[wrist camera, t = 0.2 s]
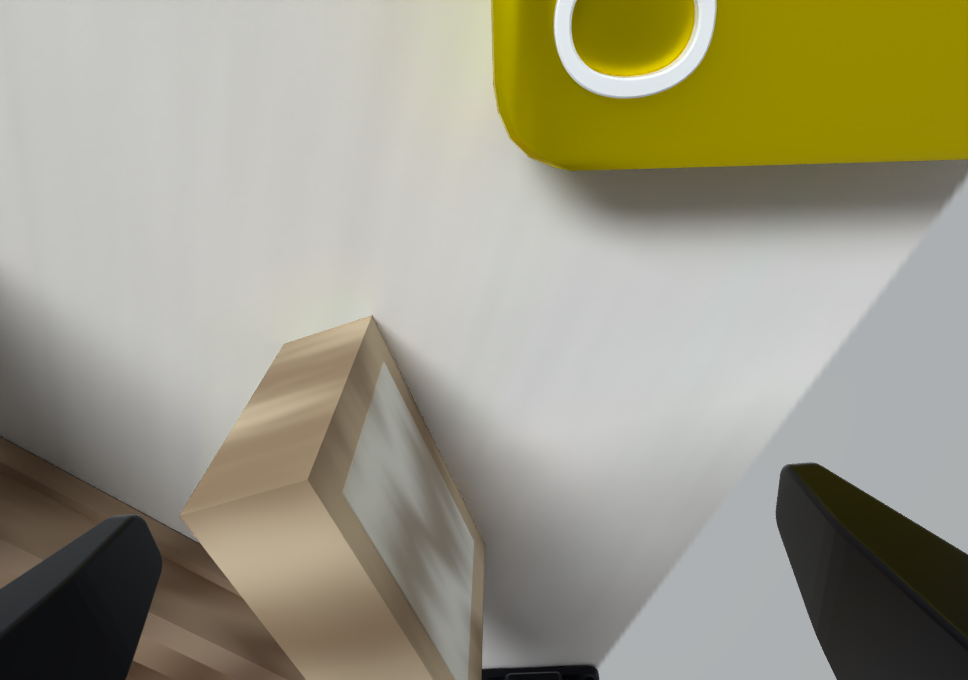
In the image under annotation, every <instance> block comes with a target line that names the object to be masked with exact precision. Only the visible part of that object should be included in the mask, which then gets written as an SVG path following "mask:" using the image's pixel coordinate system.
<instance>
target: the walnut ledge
mask: <svg viewBox="0 0 968 680" xmlns="http://www.w3.org/2000/svg"><path fill="white" fill-rule="evenodd" d="M130 514H137V515H140V516H142V517H143V518H144V519H145V521H146V522H147V524H148V526H149V529H150V531H151V533H152V535H153V537H154V539H155V541H156V543H157V545H158V547H159V550H160V552H161V554H162V559H163V567H162V573H161V576H160V579H159V582H158V585H157V588H156V591H155V595H154V598H153V601H152V604H151V607H150V610H149V613H148V616H147V619H146V622H145V625H144V628H143V631H142V634H141V637H140V641H139V644H138V647H137V650H136V653H135V656H134V659H133V662H132V664H131V667H130V670H129V673H128V675H127V678H126V680H306V679H305V678H304V677H303V675H302V674H301V673H300V671H299V670H298V669H297V667H296V666H295V665H294V664H293V662H292V661H291V660H290V658H289V657H288V656H287V655H286V653H285V652H284V651H283V649H282V648H281V647H280V646H279V644H278V643H277V642H276V640H275V639H274V638H273V637H272V635H271V634H270V633H269V631H268V630H267V629H266V627H265V626H264V625H263V624H262V622H261V621H260V620H259V618H258V617H257V616H256V615H255V613H254V612H253V611H252V609H251V608H250V607H249V606H248V604H247V603H246V602H245V600H244V599H243V598H242V596H241V595H240V594H239V593H238V591H237V590H236V589H235V587H234V586H233V585H232V584H231V582H230V581H229V580H228V578H227V577H226V576H225V575H224V573H223V572H222V571H221V569H220V568H219V567H218V566H217V564H216V563H215V562H214V560H213V559H212V558H211V556H210V555H209V554H208V553H207V551H206V550H205V549H204V547H203V546H202V545H200V544H199V543H197V542H195V541H193V540H191V539H189V538H187V537H185V536H184V535H182V534H180V533H178V532H176V531H174V530H172V529H171V528H169V527H167V526H165V525H163V524H161V523H159V522H158V521H156V520H154V519H152V518H150V517H148V516H146V515H145V514H143V513H141V512H139V511H137V510H135V509H133V508H131V507H130V506H128V505H126V504H124V503H122V502H120V501H118V500H117V499H115V498H113V497H111V496H109V495H107V494H105V493H104V492H102V491H100V490H98V489H96V488H94V487H92V486H91V485H89V484H87V483H85V482H83V481H81V480H79V479H78V478H76V477H74V476H72V475H70V474H68V473H66V472H64V471H63V470H61V469H59V468H57V467H55V466H53V465H51V464H50V463H48V462H46V461H44V460H42V459H40V458H38V457H37V456H35V455H33V454H31V453H29V452H27V451H25V450H24V449H22V448H20V447H18V446H16V445H14V444H12V443H10V442H9V441H7V440H5V439H3V438H1V437H0V589H1V588H2V587H4V586H5V585H7V584H8V583H10V582H11V581H13V580H14V579H16V578H18V577H19V576H21V575H22V574H24V573H25V572H27V571H28V570H30V569H31V568H33V567H34V566H36V565H37V564H39V563H40V562H42V561H43V560H45V559H46V558H48V557H49V556H51V555H52V554H54V553H55V552H57V551H58V550H60V549H61V548H63V547H64V546H66V545H67V544H69V543H70V542H72V541H73V540H75V539H76V538H78V537H79V536H81V535H82V534H84V533H85V532H87V531H89V530H90V529H92V528H93V527H95V526H96V525H98V524H99V523H101V522H102V521H104V520H105V519H107V518H109V517H111V516H117V515H130Z"/></svg>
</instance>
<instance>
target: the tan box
mask: <svg viewBox="0 0 968 680" xmlns="http://www.w3.org/2000/svg"><path fill="white" fill-rule="evenodd" d="M179 516H180V518H181V519H182V520H183V522H184V523H185V524H186V525H187V527H188V528H189V529H190V531H191V532H192V533H193V535H194V536H195V537H196V538H197V540H198V541H199V542H200V544H201V545H202V546H203V547H204V549H205V550H206V551H207V553H208V554H209V555H210V556H211V558H212V559H213V560H214V562H215V563H216V564H217V566H218V567H219V568H220V569H221V571H222V572H223V573H224V575H225V576H226V577H227V578H228V580H229V581H230V582H231V584H232V585H233V586H234V587H235V589H236V590H237V591H238V593H239V594H240V595H241V596H242V598H243V599H244V600H245V602H246V603H247V604H248V606H249V607H250V608H251V609H252V611H253V612H254V613H255V615H256V616H257V617H258V618H259V620H260V621H261V622H262V624H263V625H264V626H265V627H266V629H267V630H268V631H269V633H270V634H271V635H272V637H273V638H274V639H275V640H276V642H277V643H278V644H279V646H280V647H281V648H282V649H283V651H284V652H285V653H286V655H287V656H288V657H289V658H290V660H291V661H292V662H293V664H294V665H295V666H296V667H297V669H298V670H299V671H300V673H301V674H302V675H303V677H304V678H305V679H306V680H481V676H482V636H483V597H484V557H485V543H484V541H483V539H482V537H481V535H480V533H479V531H478V529H477V527H476V525H475V523H474V521H473V519H472V517H471V515H470V513H469V511H468V509H467V507H466V505H465V503H464V501H463V499H462V497H461V495H460V493H459V491H458V489H457V487H456V485H455V483H454V481H453V478H452V476H451V474H450V472H449V470H448V468H447V466H446V464H445V462H444V460H443V458H442V456H441V454H440V452H439V450H438V448H437V446H436V444H435V442H434V440H433V438H432V436H431V434H430V432H429V430H428V428H427V426H426V424H425V422H424V420H423V418H422V416H421V414H420V412H419V410H418V407H417V405H416V403H415V401H414V399H413V397H412V395H411V393H410V391H409V389H408V387H407V385H406V383H405V381H404V379H403V377H402V375H401V373H400V371H399V369H398V367H397V365H396V363H395V361H394V359H393V357H392V355H391V353H390V351H389V349H388V347H387V345H386V343H385V341H384V339H383V336H382V334H381V332H380V330H379V328H378V326H377V324H376V322H375V320H374V318H373V316H372V315H371V316H368V317H365V318H362V319H359V320H356V321H353V322H350V323H347V324H344V325H341V326H338V327H335V328H332V329H329V330H325V331H322V332H319V333H316V334H313V335H310V336H307V337H304V338H301V339H298V340H295V341H292V342H289V343H286V344H284V345H283V347H282V348H281V350H280V352H279V353H278V355H277V356H276V358H275V360H274V361H273V363H272V365H271V366H270V368H269V370H268V371H267V373H266V374H265V376H264V378H263V379H262V381H261V383H260V384H259V386H258V388H257V389H256V391H255V392H254V394H253V396H252V397H251V399H250V401H249V402H248V404H247V406H246V407H245V409H244V410H243V412H242V414H241V415H240V417H239V419H238V420H237V422H236V423H235V425H234V427H233V428H232V430H231V432H230V433H229V435H228V437H227V438H226V440H225V441H224V443H223V445H222V446H221V448H220V450H219V451H218V453H217V455H216V456H215V458H214V459H213V461H212V463H211V464H210V466H209V468H208V469H207V471H206V473H205V474H204V476H203V477H202V479H201V481H200V482H199V484H198V486H197V487H196V489H195V491H194V492H193V494H192V495H191V497H190V499H189V500H188V502H187V504H186V505H185V507H184V509H183V510H182V512H181V513H180V515H179Z"/></svg>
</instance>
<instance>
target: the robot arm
mask: <svg viewBox="0 0 968 680" xmlns="http://www.w3.org/2000/svg"><path fill="white" fill-rule="evenodd" d="M776 521H777V526H778V529H779V532H780V535H781V538H782V541H783V544H784V547H785V549H786V552H787V555H788V558H789V561H790V564H791V566H792V569H793V572H794V575H795V577H796V581H797V583H798V586H799V589H800V592H801V594H802V598H803V600H804V603H805V606H806V609H807V612H808V614H809V617H810V620H811V623H812V625H813V628H814V631H815V633H816V636H817V638H818V640H819V642H820V645H821V647H822V649H823V651H824V654H825V656H826V658H827V660H828V662H829V664H830V666H831V668H832V670H833V672H834V674H835V676H836V678H837V680H968V555H967V554H966V553H964V552H963V551H961V550H959V549H958V548H956V547H954V546H953V545H951V544H949V543H948V542H946V541H945V540H943V539H941V538H939V537H938V536H936V535H935V534H933V533H931V532H930V531H928V530H926V529H925V528H923V527H922V526H920V525H918V524H916V523H914V522H913V521H912V520H910V519H908V518H907V517H905V516H903V515H902V514H900V513H898V512H897V511H895V510H893V509H892V508H890V507H889V506H887V505H885V504H884V503H882V502H880V501H879V500H877V499H875V498H874V497H872V496H870V495H869V494H867V493H865V492H864V491H862V490H860V489H859V488H857V487H856V486H854V485H852V484H851V483H849V482H847V481H845V480H844V479H842V478H841V477H839V476H837V475H836V474H834V473H832V472H831V471H829V470H828V469H826V468H824V467H822V466H821V465H819V464H817V463H798V464H788V465H786V466H784V467H783V468H782V470H781V473H780V480H779V489H778V497H777V505H776ZM162 567H163V559H162V554H161V552H160V550H159V547H158V545H157V543H156V541H155V539H154V537H153V535H152V533H151V531H150V529H149V526H148V524H147V522H146V521H145V519H144V518H143V517H142V516H140V515H137V514H130V515H117V516H111V517H109V518H107V519H105V520H104V521H102V522H101V523H99V524H98V525H96V526H95V527H93V528H92V529H90V530H89V531H87V532H85V533H84V534H82V535H81V536H79V537H78V538H76V539H75V540H73V541H72V542H70V543H69V544H67V545H66V546H64V547H63V548H61V549H60V550H58V551H57V552H55V553H54V554H52V555H51V556H49V557H48V558H46V559H45V560H43V561H42V562H40V563H39V564H37V565H36V566H34V567H33V568H31V569H30V570H28V571H27V572H25V573H24V574H22V575H21V576H19V577H18V578H16V579H14V580H13V581H11V582H10V583H8V584H7V585H5V586H4V587H2V588H1V589H0V680H126V678H127V675H128V673H129V670H130V667H131V664H132V662H133V659H134V656H135V653H136V650H137V647H138V644H139V641H140V637H141V634H142V631H143V628H144V625H145V622H146V619H147V616H148V613H149V610H150V607H151V604H152V601H153V598H154V595H155V591H156V588H157V585H158V582H159V579H160V576H161V573H162ZM481 680H599V674H598V670H597V669H596V668H594V667H590V666H584V667H556V668H529V669H501V670H482V676H481Z"/></svg>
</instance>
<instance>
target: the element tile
mask: <svg viewBox="0 0 968 680" xmlns="http://www.w3.org/2000/svg"><path fill="white" fill-rule="evenodd" d="M491 16H492V56H493V86H494V92H495V98H496V104H497V110H498V113H499V115H500V117H501V120H502V122H503V124H504V127H505V129H506V131H507V133H508V136H509V138H510V139H511V140H512V141H513V142H514V143H515V144H516V145H517V146H518V147H519V148H520V149H521V150H522V151H523V152H524V153H525V154H526V155H527V156H528V157H529V158H532V159H534V160H537V161H539V162H542V163H544V164H547V165H549V166H552V167H554V168H559V169H564V170H568V171H588V170H622V169H657V168H691V167H726V166H760V165H795V164H829V163H864V162H898V161H933V160H967V159H968V0H491Z"/></svg>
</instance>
